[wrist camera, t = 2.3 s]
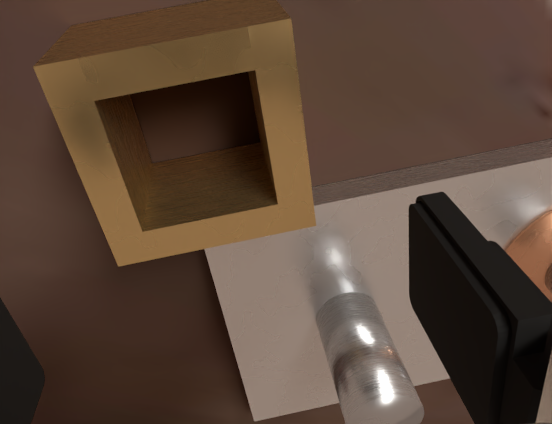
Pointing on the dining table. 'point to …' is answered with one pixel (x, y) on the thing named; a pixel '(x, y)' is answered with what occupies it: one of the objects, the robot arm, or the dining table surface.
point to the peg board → (368, 284)
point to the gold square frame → (193, 169)
